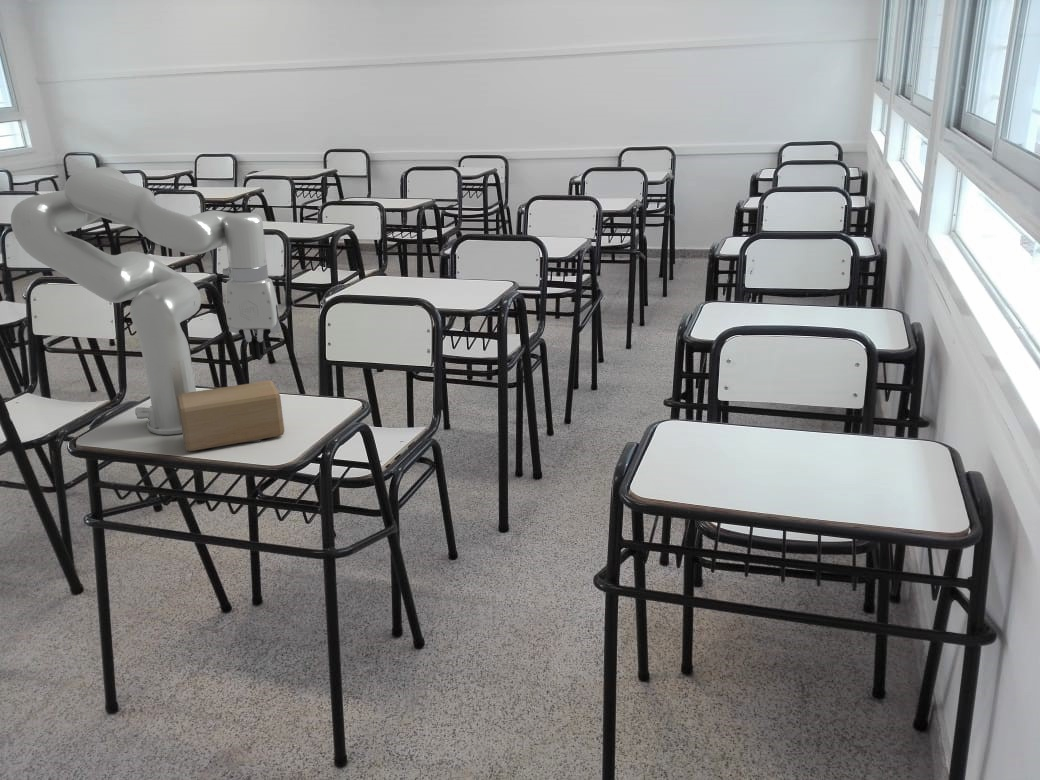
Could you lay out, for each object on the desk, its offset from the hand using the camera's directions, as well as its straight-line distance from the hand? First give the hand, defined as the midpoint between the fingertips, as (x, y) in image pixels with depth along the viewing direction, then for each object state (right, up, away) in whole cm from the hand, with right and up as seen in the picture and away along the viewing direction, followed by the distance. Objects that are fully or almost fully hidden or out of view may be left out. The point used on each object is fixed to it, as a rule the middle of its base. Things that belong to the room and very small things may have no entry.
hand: (258, 358), depth 181 cm
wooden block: (+4, -11, +2) cm, 12 cm away
